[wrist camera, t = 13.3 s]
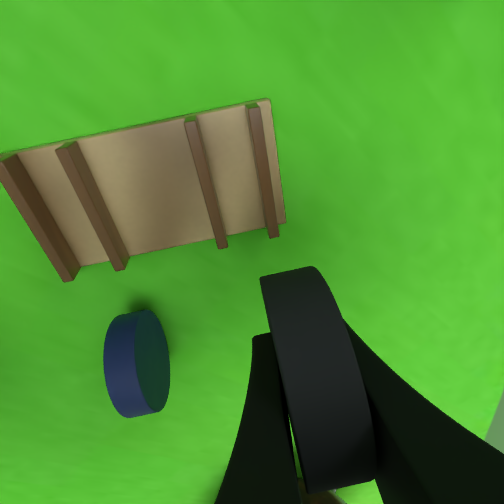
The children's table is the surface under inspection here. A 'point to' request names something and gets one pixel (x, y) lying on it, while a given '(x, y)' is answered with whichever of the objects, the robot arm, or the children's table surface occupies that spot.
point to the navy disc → (136, 364)
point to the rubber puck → (320, 381)
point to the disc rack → (149, 186)
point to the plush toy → (319, 496)
